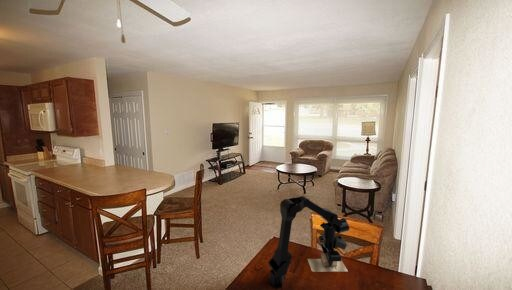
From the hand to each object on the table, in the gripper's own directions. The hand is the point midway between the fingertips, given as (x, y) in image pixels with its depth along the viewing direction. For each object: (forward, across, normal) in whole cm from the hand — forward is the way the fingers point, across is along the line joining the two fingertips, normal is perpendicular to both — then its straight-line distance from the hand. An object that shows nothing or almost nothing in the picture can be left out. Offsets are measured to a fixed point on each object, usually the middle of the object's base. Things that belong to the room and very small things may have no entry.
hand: (328, 262), depth 114 cm
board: (+2, 0, +1) cm, 3 cm away
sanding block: (+1, 0, 0) cm, 1 cm away
